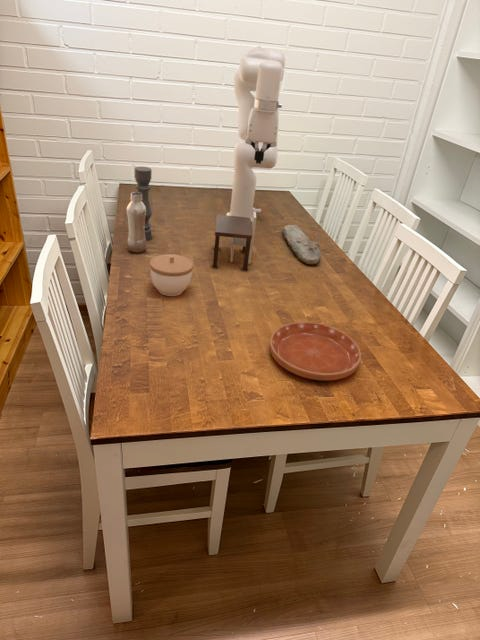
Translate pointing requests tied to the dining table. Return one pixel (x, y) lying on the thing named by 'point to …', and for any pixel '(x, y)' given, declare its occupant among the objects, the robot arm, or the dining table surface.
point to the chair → (244, 240)
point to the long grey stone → (302, 245)
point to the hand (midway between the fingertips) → (258, 162)
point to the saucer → (315, 351)
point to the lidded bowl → (171, 273)
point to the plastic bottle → (136, 223)
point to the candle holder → (144, 194)
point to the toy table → (233, 234)
